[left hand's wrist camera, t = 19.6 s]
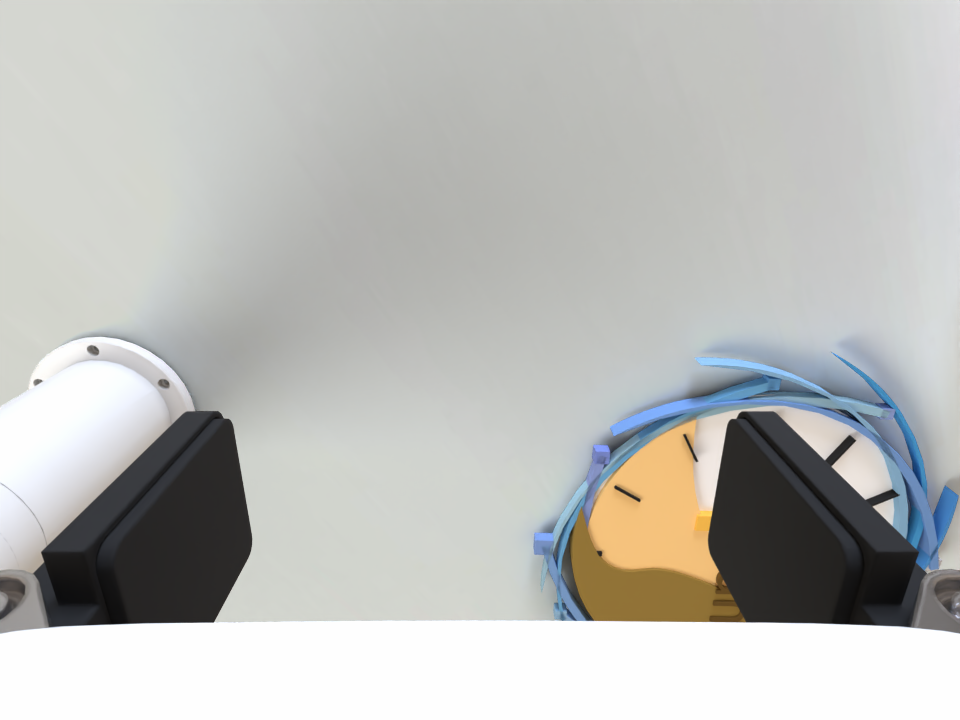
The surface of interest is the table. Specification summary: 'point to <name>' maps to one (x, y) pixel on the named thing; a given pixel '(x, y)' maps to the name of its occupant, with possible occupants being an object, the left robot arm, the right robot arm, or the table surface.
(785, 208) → the table surface
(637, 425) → the clock
